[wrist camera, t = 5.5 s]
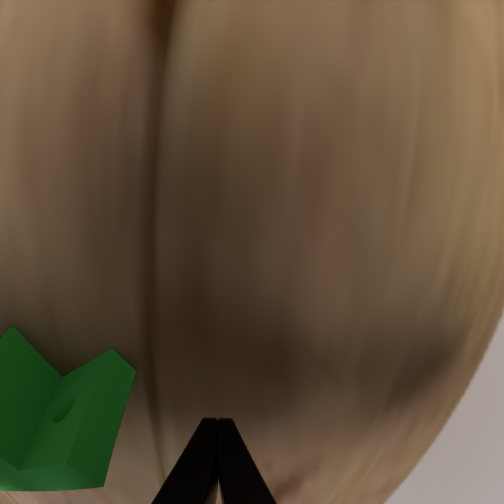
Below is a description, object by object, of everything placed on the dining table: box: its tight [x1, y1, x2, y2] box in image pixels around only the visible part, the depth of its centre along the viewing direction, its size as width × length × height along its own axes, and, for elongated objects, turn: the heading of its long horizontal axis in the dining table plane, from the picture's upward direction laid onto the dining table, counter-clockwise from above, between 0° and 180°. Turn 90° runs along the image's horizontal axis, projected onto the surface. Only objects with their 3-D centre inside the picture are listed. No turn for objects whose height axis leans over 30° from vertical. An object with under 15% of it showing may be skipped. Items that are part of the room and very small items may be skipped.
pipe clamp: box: [0, 325, 136, 491], centre depth 8 cm, size 11×4×5 cm, turn 123°
